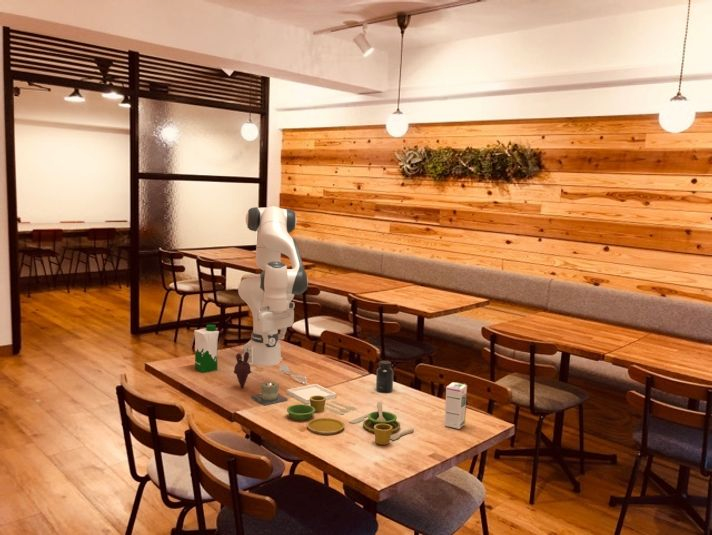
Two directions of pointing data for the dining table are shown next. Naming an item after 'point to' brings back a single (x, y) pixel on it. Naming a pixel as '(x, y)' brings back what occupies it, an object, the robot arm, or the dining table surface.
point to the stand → (268, 402)
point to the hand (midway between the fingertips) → (273, 341)
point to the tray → (310, 393)
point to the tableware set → (376, 423)
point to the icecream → (242, 368)
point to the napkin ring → (269, 391)
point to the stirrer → (285, 369)
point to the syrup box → (455, 405)
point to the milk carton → (206, 349)
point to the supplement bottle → (384, 377)
